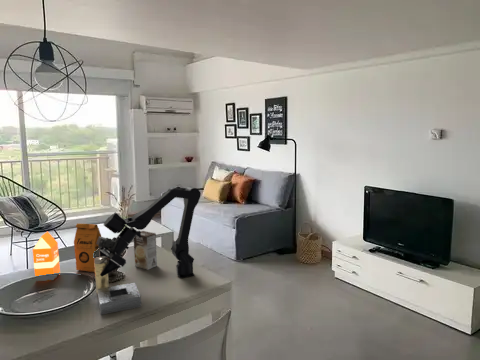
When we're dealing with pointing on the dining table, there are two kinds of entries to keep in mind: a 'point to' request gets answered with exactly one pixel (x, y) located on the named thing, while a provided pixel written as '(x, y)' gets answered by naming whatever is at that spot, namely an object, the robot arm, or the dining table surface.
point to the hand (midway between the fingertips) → (97, 272)
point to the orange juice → (46, 256)
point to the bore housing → (118, 298)
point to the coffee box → (145, 250)
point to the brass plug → (100, 280)
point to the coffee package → (86, 246)
